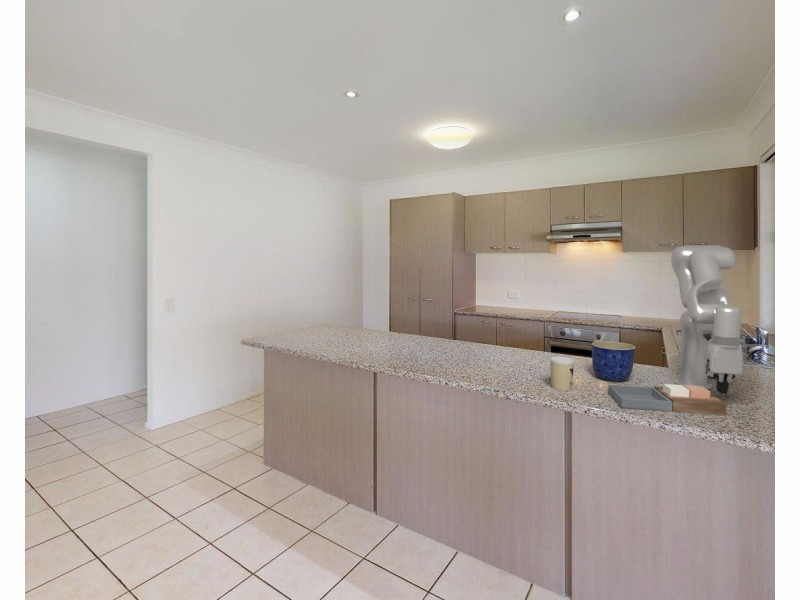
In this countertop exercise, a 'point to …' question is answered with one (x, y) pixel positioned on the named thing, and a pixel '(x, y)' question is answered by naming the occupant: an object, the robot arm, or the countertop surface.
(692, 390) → the terracotta tile
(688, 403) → the walnut board
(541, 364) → the countertop surface
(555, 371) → the coffee cup
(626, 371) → the planter
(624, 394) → the tray
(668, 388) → the cream tile
